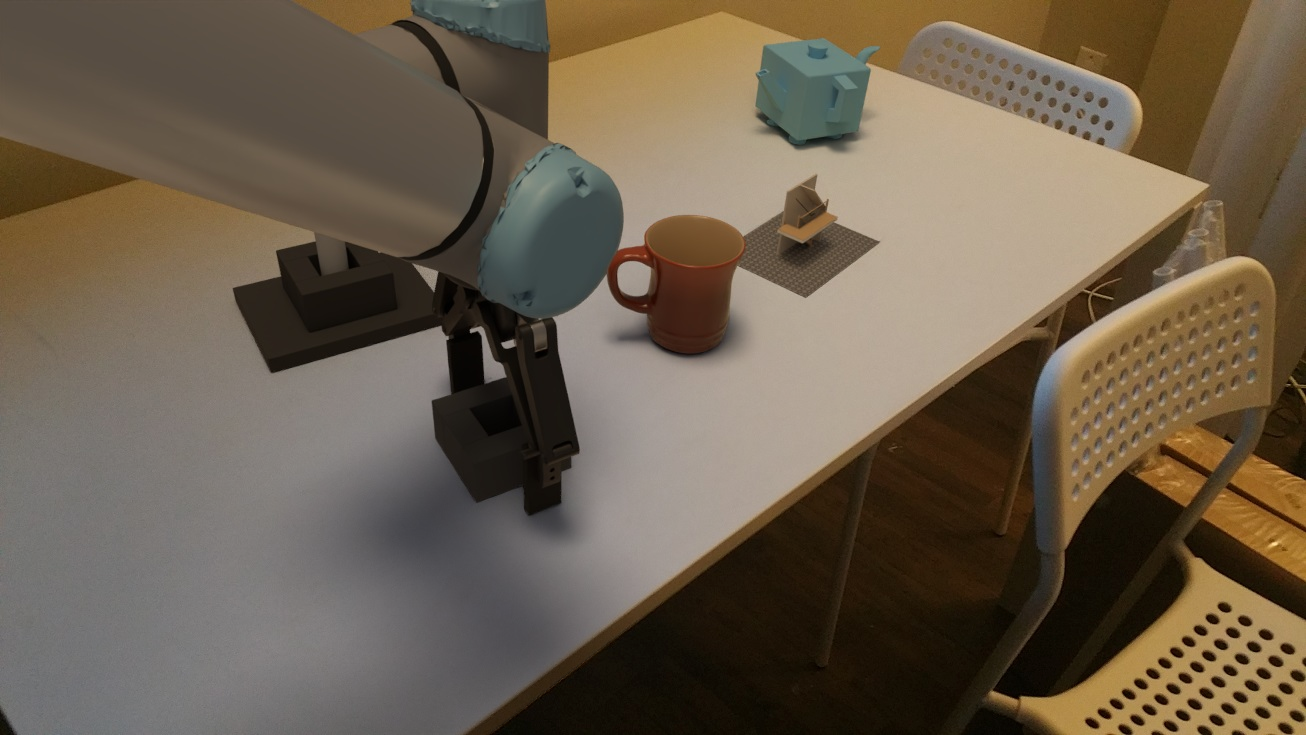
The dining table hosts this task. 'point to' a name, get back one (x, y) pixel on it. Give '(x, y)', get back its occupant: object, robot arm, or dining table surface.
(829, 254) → the architectural model
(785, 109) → the teapot
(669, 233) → the mug
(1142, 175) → the dining table surface
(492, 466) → the grey square-holed block
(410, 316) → the base pad
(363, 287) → the dark block with hole
